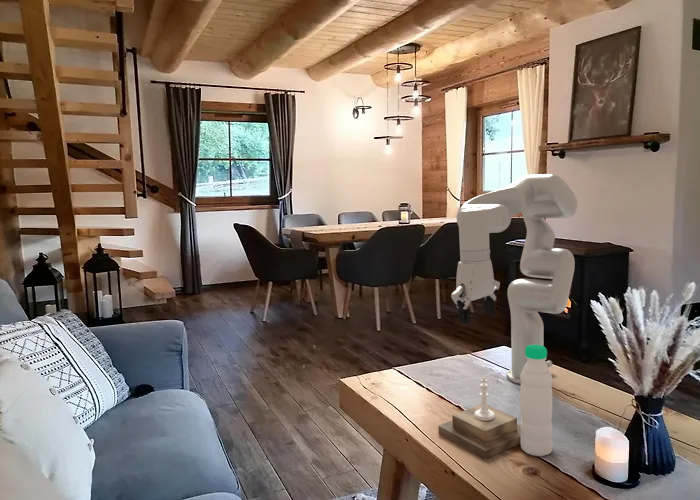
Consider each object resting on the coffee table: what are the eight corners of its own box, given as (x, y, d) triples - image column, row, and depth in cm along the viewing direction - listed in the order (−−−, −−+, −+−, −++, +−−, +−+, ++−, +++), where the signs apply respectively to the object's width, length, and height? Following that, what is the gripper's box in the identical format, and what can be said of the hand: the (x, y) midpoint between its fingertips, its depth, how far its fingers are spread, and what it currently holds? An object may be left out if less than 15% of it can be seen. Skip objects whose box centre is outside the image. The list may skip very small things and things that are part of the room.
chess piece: (495, 421, 129) (494, 381, 128) (474, 420, 130) (473, 381, 129) (494, 412, 134) (493, 374, 132) (474, 411, 135) (473, 373, 133)
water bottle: (559, 454, 122) (559, 349, 119) (532, 460, 120) (532, 353, 117) (539, 440, 129) (539, 340, 125) (514, 445, 127) (513, 344, 123)
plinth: (483, 415, 143) (483, 397, 143) (532, 438, 130) (532, 418, 129) (438, 432, 135) (438, 414, 134) (485, 459, 121) (485, 438, 121)
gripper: (486, 249, 146) (488, 309, 149) (440, 259, 137) (443, 323, 140) (508, 251, 140) (510, 314, 143) (461, 262, 131) (464, 329, 134)
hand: (477, 318), depth 141 cm, fingers open, 9 cm apart
